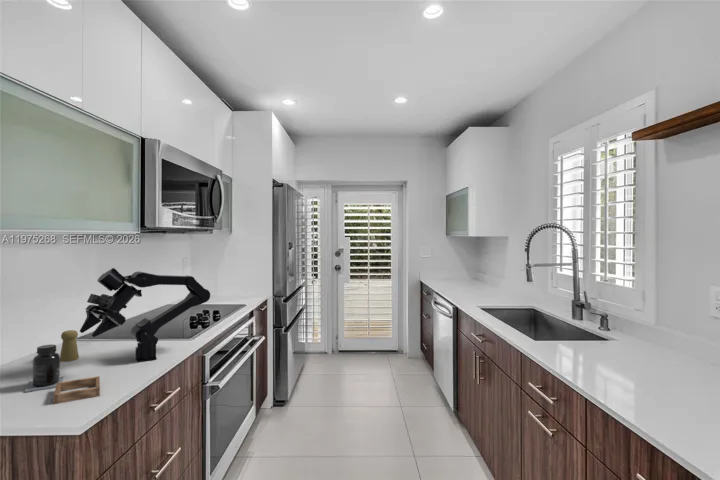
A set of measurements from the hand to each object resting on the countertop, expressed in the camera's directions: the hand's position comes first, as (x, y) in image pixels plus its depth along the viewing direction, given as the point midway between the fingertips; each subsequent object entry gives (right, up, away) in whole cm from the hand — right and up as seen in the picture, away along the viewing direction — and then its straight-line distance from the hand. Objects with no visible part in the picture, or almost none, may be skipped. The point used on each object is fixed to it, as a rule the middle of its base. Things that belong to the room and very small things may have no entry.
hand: (86, 334), depth 136 cm
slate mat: (-5, -14, -11) cm, 18 cm away
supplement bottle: (-5, -13, -11) cm, 18 cm away
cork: (-17, -13, +14) cm, 25 cm away
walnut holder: (+9, -14, -17) cm, 24 cm away
